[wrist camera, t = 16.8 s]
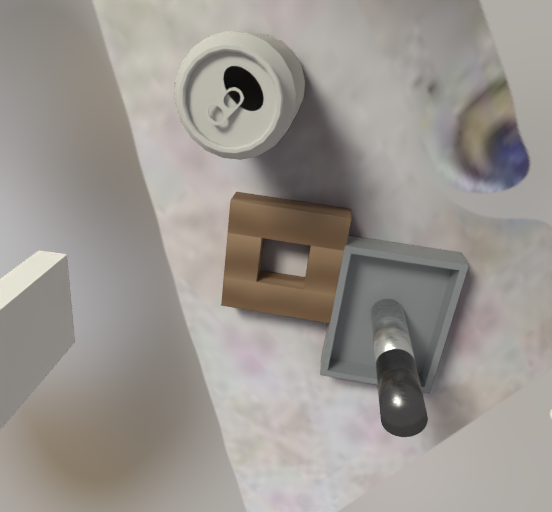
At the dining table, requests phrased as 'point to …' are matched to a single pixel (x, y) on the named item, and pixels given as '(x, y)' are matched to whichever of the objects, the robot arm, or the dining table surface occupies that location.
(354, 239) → the tray
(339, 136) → the dining table surface
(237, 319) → the dining table surface
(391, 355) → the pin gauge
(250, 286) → the plate
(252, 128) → the can
